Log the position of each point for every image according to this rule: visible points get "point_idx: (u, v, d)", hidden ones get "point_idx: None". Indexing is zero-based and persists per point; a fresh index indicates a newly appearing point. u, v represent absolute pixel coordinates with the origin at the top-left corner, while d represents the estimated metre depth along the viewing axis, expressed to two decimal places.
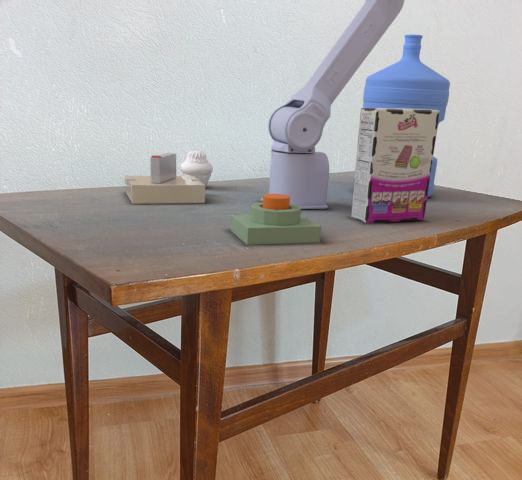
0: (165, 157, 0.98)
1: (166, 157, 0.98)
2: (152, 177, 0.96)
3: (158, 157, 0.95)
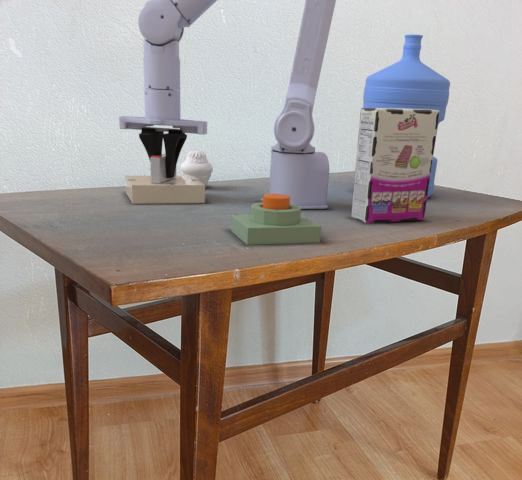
0: (165, 157, 0.98)
1: None
2: (152, 177, 0.96)
3: (158, 157, 0.95)
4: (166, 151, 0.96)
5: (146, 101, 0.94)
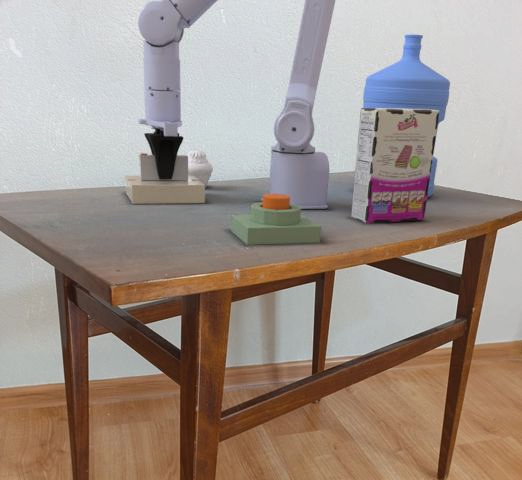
0: None
1: None
2: None
3: (141, 155, 0.97)
4: (153, 151, 0.97)
5: None
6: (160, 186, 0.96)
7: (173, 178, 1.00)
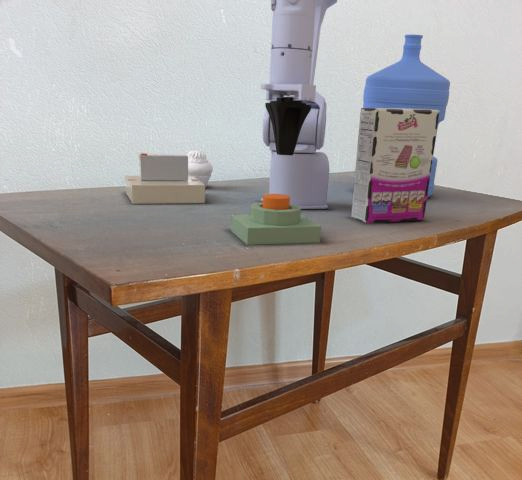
0: (156, 156, 0.98)
1: (159, 157, 0.98)
2: None
3: (141, 155, 0.97)
4: (275, 122, 0.83)
5: None
6: (160, 186, 0.96)
7: (173, 178, 1.00)
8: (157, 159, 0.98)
